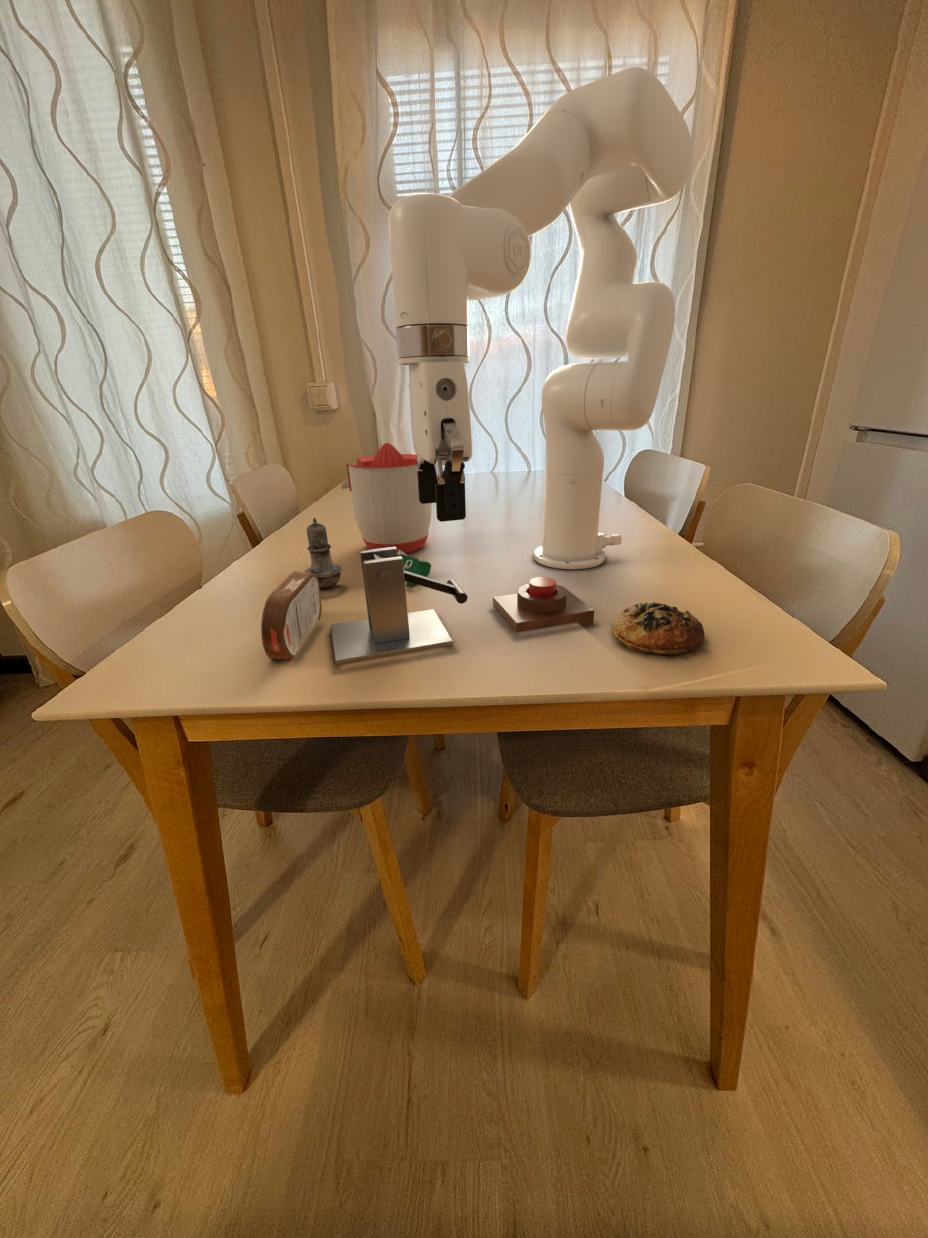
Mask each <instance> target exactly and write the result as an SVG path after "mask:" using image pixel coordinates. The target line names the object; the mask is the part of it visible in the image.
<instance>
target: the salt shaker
mask: <svg viewBox="0 0 928 1238" xmlns="http://www.w3.org/2000/svg"><path fill="white" fill-rule="evenodd" d="M317 521H318V519H316V517H313V519H312V523H311V524H309V525H308V526H307V527H306V536H307V541H308V546H307V548H306V550H307V551H309V556H310V567H309V568H307V569H305V570H304V571H303V573H313V574H315V575H316V576H317V578H318V580H319V588H320V590H328V589H333V588H341V587H342V586H341V585H339V584H338V583H339V581H340V579H341V575H342V570H343V567H342V566H340V565H339V564H334V562H333V560H332V557H331V550H330V549H331V548H332V545H331V544H329V541H328V540H329V539H328V534H327V528H326V526H325V525H324V524H322V523H319V522H317Z"/></svg>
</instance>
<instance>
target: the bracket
mask: <svg viewBox="0 0 928 1238" xmlns="http://www.w3.org/2000/svg"><path fill="white" fill-rule="evenodd" d="M373 554H375V555H379V556H382V557H385V558H384V559H375V560H371V558H372V555H373ZM397 554H398V553H397V549H396V547H388V548H380V549H371V550H369V549H365V550H363V549H362V550H359V556H360V557H359V559H360V565H361V573H362V580H363V588H364V589H363V590H364V595H365V605H366V611H367V618H366V619H359V620H353V621H345V622H339V623H332V624H330V632H331V639H332V647H333V655H334V663H335V666H339V665H347V664H352V663H359V662H363V661H364V662H365V661H370V660H375V659H381V658H386V657H393V656H399V655H404V654H411V653H416V652H423V651H427V650H428V651H429V650H434V649H440V648H445V647H452V646H454V640H453V639H452V637H451V636H450V634H449V632H448V631H447V629H446V627H445V626H444V624H443V622H442V621H441V619H440V617H439V615H438V614H437V612H436V611H435V609H434V608H432V609H424V610H419V611H412V612H411V611H410V612H409V611H408V603H407V602H408V601H407V591H406V581H405V579H404V568H403V559H402V557H401V556H400V557H398V556H397Z"/></svg>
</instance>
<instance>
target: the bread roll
mask: <svg viewBox="0 0 928 1238" xmlns="http://www.w3.org/2000/svg"><path fill="white" fill-rule="evenodd" d="M612 628H613V635H614V637H615V638H616V639H618V640H619V642H621V644H623V646H625V647H626V648H628V649H630V650H633V651H636V652H638V653H650V654H651V653H652V654H657V655H663V656H671V655H679V654H681V655H682V654H685V653H689V652H693V651H694V650H696V649H697V648H699V647H700V645H701V644H702V643H703V642H704V640H705V635H706V634H705V630H704V626H703V624H702V622H701V621H700V620H699V619H698V618H697V617H695V616H694V615H693V614H692V613H691V612H690V611H688V610H685V611H680V610H679V609H678V607H677V606H675V605H674V606H670V605H669V604H666V603H661V602H655V601H653V602H651V603H649V602H644V603H641V602H639V603H635V604H633V605H630V606H626V607H625V608H624V609H623V610H622V611H621V612H619V614H618V615H617V616H616V617H615V619H614V620H613V624H612Z"/></svg>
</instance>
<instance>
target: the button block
mask: <svg viewBox="0 0 928 1238" xmlns="http://www.w3.org/2000/svg"><path fill="white" fill-rule="evenodd" d="M492 606H493V608H494V609H495V610H496V611H497V612H498V613H499V614H500V616H501V617H502V618H503V619H504V620H505V621H506V623H507V624H508V625H509V626H510V627H511V628H512V629H513V630H514V631H515V633H523V632H528V631H534V630H539V629H545V628H550V627H556V626H562V625H568V624H575V623H577V624H578V625H579V626H580V627H589V626H594V620H595V610H594V608H592V607H591V606H589V605H588V604H587V603H586V602H584V601H583V600H582V599H580V598H579V597H578V596H577V595H575V594H574V593H572V592H571V591H570V590H568V588H566V587H565V586H563V585H561V584H557V583H556V595H554V596H552V597H535V596H532V595H529V583H526V584H523V585H521V586H519V587H518V590H517V593H512V594H511V593H510V594H504V595H498V596H493V597H492Z"/></svg>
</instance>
